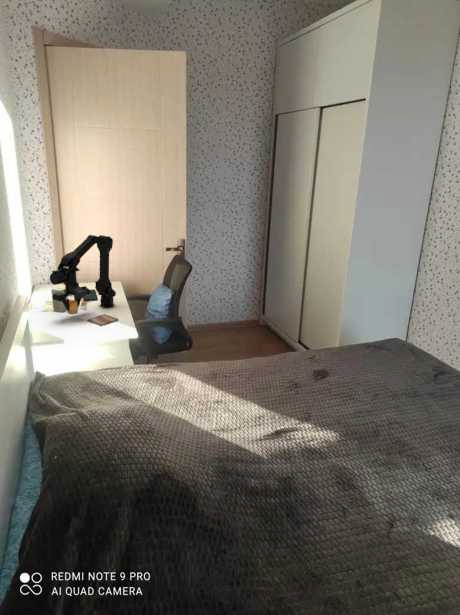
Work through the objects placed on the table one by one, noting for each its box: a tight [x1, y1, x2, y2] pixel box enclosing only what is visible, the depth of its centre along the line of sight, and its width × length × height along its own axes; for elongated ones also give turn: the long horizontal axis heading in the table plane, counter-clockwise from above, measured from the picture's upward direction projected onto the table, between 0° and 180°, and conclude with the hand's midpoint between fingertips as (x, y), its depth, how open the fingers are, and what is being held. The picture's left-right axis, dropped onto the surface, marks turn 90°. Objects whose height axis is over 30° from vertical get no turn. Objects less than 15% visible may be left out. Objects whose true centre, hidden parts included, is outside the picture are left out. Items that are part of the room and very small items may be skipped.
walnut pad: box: [86, 313, 119, 327], centre depth 235 cm, size 11×11×1 cm
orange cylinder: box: [67, 299, 79, 315], centre depth 236 cm, size 5×5×6 cm
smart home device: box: [82, 288, 99, 302], centre depth 274 cm, size 8×2×20 cm
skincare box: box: [51, 287, 67, 313], centre depth 245 cm, size 6×4×12 cm
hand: (72, 309), depth 237 cm, fingers closed on orange cylinder, 5 cm apart
